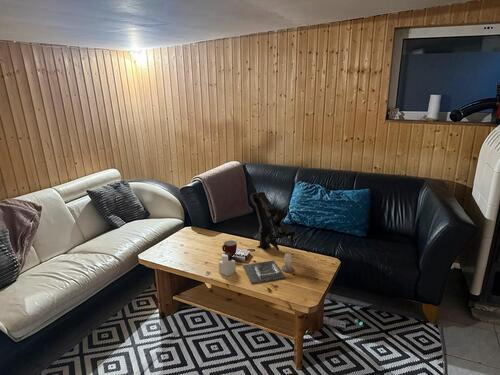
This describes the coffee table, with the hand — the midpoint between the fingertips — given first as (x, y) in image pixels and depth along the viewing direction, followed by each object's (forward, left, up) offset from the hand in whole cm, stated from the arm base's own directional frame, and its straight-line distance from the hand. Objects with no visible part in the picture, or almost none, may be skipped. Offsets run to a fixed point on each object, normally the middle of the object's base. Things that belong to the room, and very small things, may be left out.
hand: (285, 249), depth 194 cm
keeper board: (-6, -14, -11) cm, 19 cm away
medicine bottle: (-22, -27, -12) cm, 37 cm away
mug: (-35, -13, -12) cm, 39 cm away
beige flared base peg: (+3, -1, -11) cm, 12 cm away
